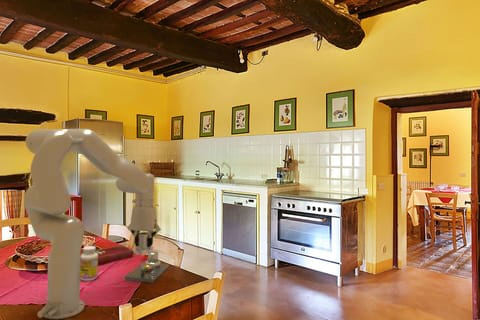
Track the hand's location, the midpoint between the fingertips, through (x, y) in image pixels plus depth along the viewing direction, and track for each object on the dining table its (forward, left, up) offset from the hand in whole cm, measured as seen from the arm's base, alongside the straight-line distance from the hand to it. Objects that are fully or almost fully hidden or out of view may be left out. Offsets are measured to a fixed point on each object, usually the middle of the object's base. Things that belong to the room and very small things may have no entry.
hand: (143, 245), depth 142 cm
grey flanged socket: (0, 0, -3) cm, 3 cm away
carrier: (+5, 0, -14) cm, 15 cm away
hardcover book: (+20, +27, -14) cm, 36 cm away
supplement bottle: (-6, +21, -14) cm, 26 cm away
